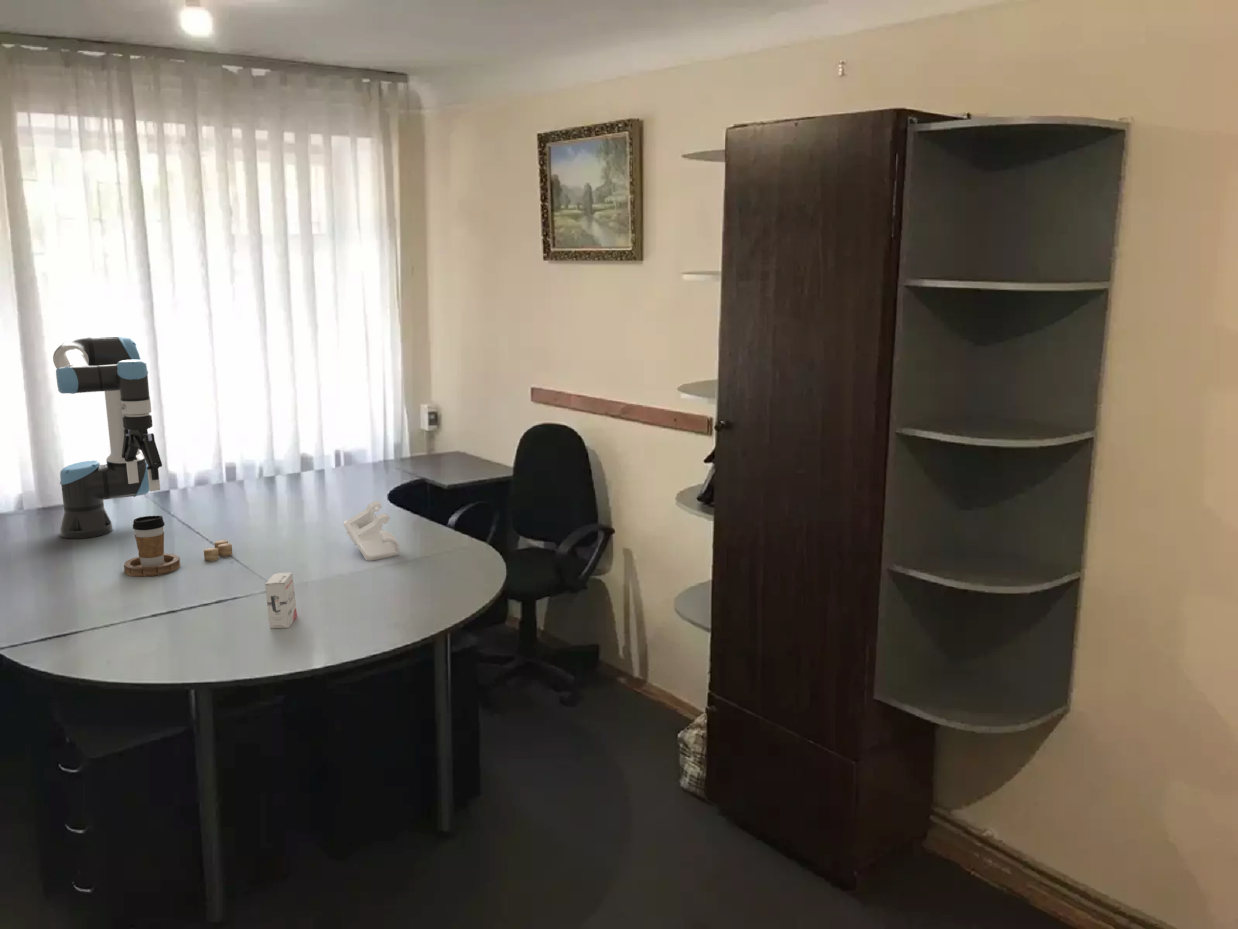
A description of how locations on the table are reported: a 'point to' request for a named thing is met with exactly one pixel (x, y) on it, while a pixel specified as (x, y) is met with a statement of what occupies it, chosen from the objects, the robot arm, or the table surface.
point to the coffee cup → (150, 540)
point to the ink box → (281, 600)
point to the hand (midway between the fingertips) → (144, 486)
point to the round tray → (135, 569)
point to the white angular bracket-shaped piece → (372, 533)
